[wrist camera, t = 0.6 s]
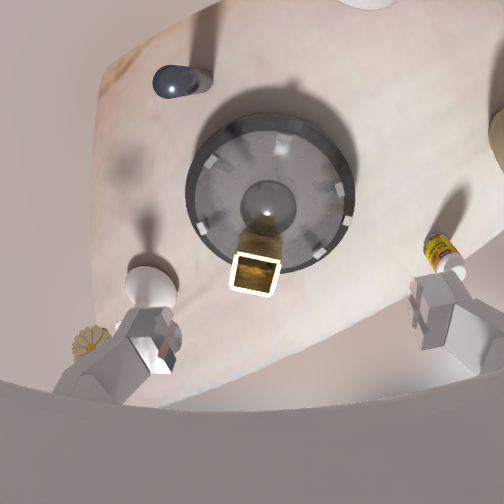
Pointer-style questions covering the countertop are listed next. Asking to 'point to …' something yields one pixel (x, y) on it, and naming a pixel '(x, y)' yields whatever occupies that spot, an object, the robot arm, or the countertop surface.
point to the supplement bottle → (443, 255)
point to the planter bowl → (497, 137)
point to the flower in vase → (141, 294)
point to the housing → (282, 124)
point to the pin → (181, 81)
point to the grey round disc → (268, 205)
